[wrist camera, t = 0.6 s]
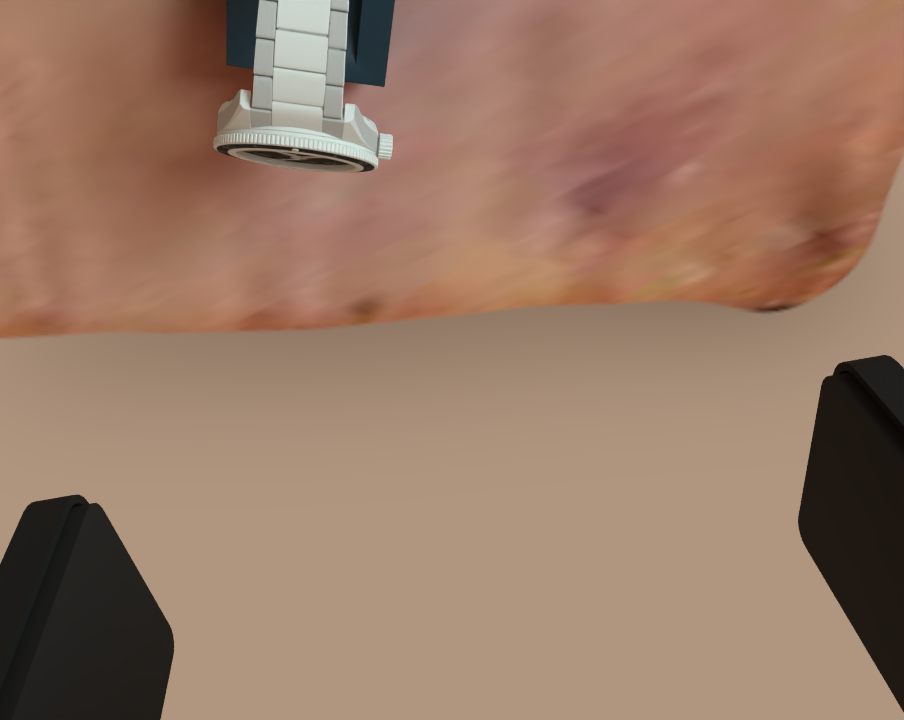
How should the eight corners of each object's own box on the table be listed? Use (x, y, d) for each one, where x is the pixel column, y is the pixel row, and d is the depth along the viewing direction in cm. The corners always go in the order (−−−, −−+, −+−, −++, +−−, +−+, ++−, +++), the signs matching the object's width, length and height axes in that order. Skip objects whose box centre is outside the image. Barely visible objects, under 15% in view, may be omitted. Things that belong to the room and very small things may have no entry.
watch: (236, 92, 32) (191, 218, 23) (239, -147, 27) (184, -104, 18) (378, 110, 33) (388, 238, 24) (405, -116, 28) (429, -62, 19)
